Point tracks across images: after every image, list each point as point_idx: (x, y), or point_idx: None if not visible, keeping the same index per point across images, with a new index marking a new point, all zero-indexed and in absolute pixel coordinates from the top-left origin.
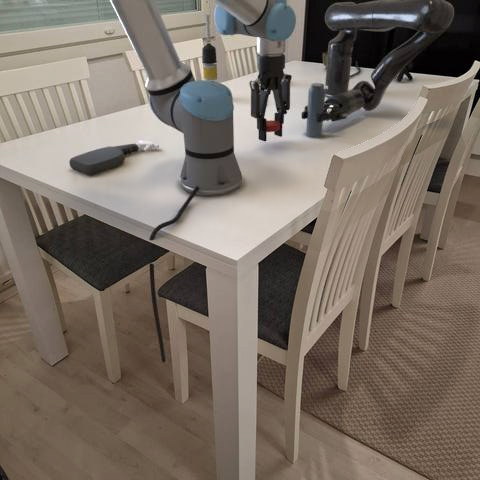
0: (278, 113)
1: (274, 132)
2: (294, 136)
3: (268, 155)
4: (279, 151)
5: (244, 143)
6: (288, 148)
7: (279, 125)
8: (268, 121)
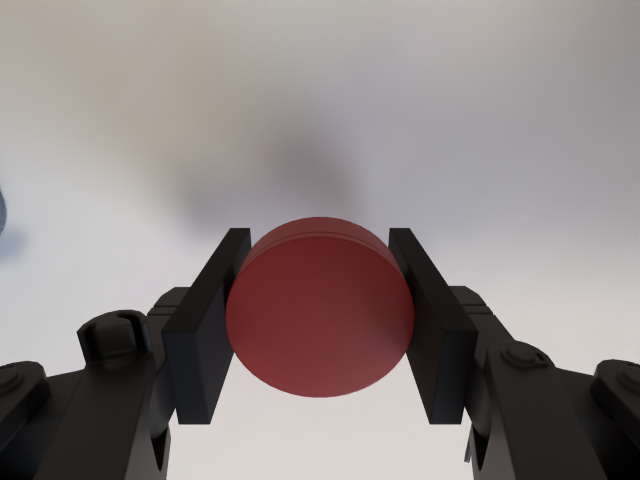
0: (179, 389)
1: None
2: (89, 258)
3: (470, 95)
4: (355, 105)
5: None
6: (263, 108)
7: (265, 246)
8: (299, 371)
